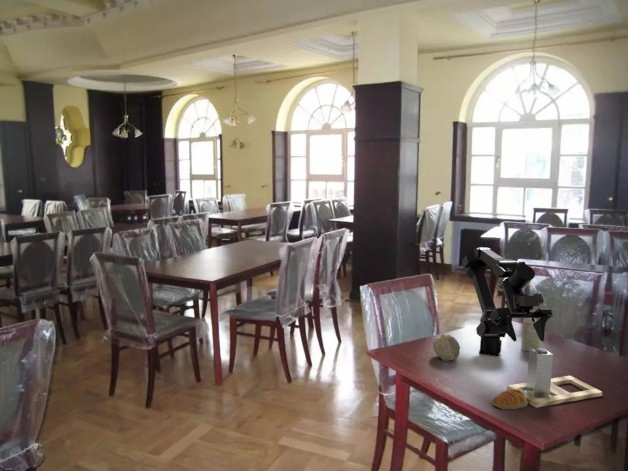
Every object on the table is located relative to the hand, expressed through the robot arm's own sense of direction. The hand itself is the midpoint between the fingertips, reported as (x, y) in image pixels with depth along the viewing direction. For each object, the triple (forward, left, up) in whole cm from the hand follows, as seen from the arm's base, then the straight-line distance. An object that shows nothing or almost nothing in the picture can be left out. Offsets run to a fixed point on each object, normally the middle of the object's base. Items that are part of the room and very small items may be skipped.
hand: (529, 341), depth 157 cm
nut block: (+4, -8, -13) cm, 16 cm away
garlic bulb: (-27, +8, -14) cm, 31 cm away
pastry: (-3, -17, -14) cm, 22 cm away
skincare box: (-1, +31, -14) cm, 34 cm away
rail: (+8, -3, -13) cm, 16 cm away
